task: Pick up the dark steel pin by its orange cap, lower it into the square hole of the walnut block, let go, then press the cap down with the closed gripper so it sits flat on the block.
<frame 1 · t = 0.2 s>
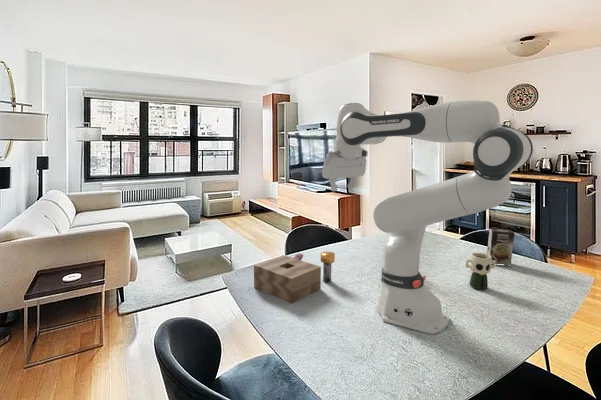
hand: (342, 189, 122), 39 cm above the table, tool pointing down, fingers open, 8 cm apart
character mug: (478, 288, 132), on the table
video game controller: (295, 266, 155), on the table
walnut block: (287, 288, 131), on the table
coffee box: (498, 264, 159), on the table
steel pin: (327, 281, 138), on the table
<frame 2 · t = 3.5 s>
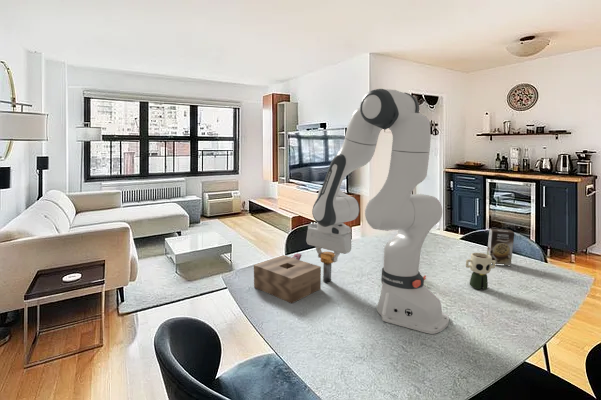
hand: (327, 259, 136), 9 cm above the table, tool pointing down, fingers closed on steel pin, 6 cm apart
steel pin: (327, 281, 138), on the table, touching gripper
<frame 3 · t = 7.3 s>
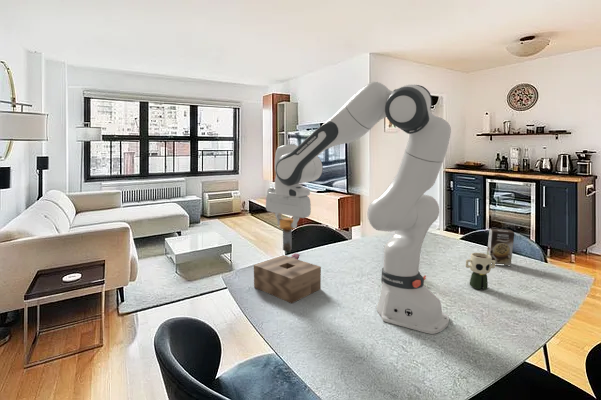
hand: (287, 226, 127), 24 cm above the table, tool pointing down, fingers closed on steel pin, 6 cm apart
steel pin: (287, 249, 128), point 15 cm above the table, touching gripper
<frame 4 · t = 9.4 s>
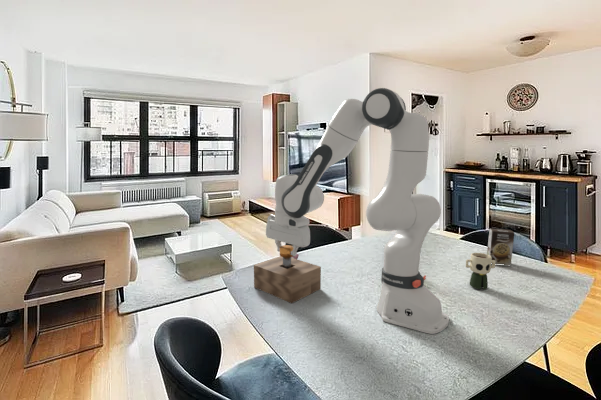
hand: (286, 253, 129), 14 cm above the table, tool pointing down, fingers closed on steel pin, 6 cm apart
steel pin: (287, 276, 130), point 5 cm above the table, touching gripper
when the fingers open (11 cm above the table, at t = 11.2 s): steel pin stays where it is, resting on walnut block.
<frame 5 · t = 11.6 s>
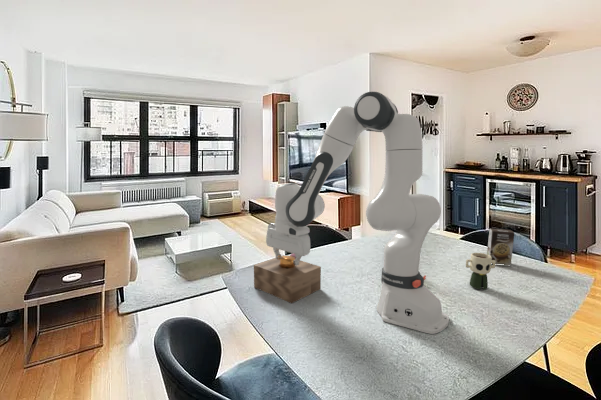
hand: (287, 261, 129), 11 cm above the table, tool pointing down, fingers open, 8 cm apart
steel pin: (287, 286, 131), resting on walnut block
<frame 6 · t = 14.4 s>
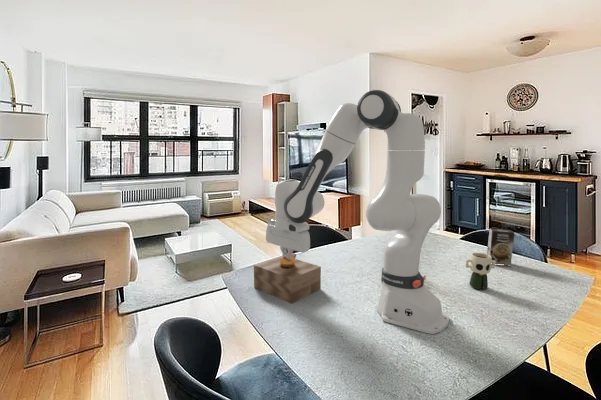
hand: (286, 258, 129), 12 cm above the table, tool pointing down, fingers closed, pressing on steel pin
steel pin: (287, 286, 131), resting on walnut block, touching gripper
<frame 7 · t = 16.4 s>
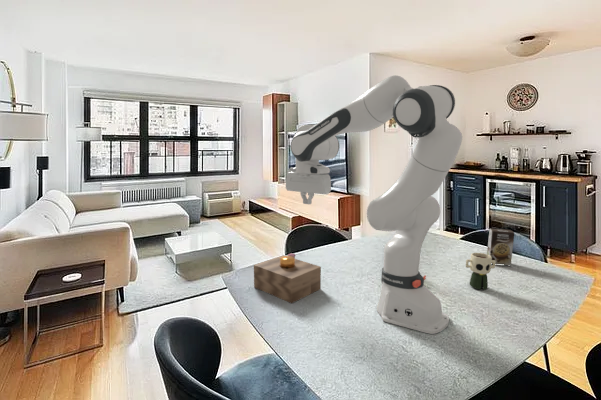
hand: (307, 204, 132), 32 cm above the table, tool pointing down, fingers closed
steel pin: (287, 286, 131), resting on walnut block
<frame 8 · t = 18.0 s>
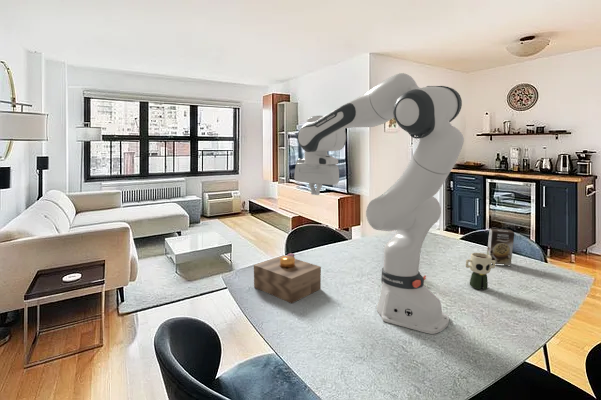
hand: (315, 194, 134), 35 cm above the table, tool pointing down, fingers closed
at the end: steel pin 0.1 cm off-centre on the walnut block, point 0.5 cm above the walnut block's base; steel pin tilted 0°; the gripper is holding nothing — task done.
